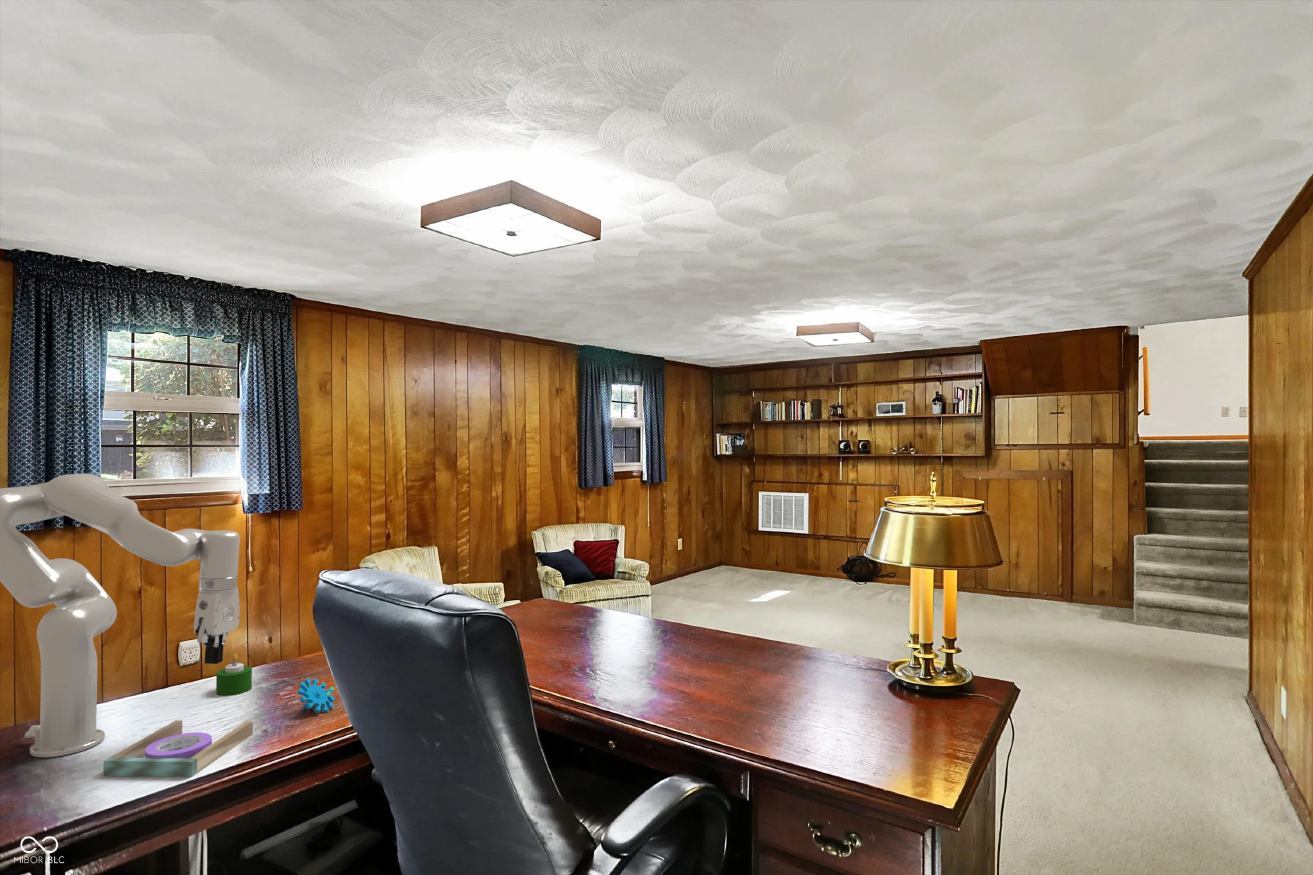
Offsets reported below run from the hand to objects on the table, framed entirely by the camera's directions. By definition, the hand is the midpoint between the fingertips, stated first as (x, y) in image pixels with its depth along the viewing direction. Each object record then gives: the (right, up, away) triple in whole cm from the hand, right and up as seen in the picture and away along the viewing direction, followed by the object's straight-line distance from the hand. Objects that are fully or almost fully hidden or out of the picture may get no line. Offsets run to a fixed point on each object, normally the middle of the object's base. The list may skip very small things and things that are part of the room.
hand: (213, 662), depth 159 cm
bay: (+1, -16, -11) cm, 19 cm away
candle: (-12, -17, +27) cm, 34 cm away
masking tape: (+2, -17, -14) cm, 22 cm away
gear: (+17, -17, +14) cm, 28 cm away
